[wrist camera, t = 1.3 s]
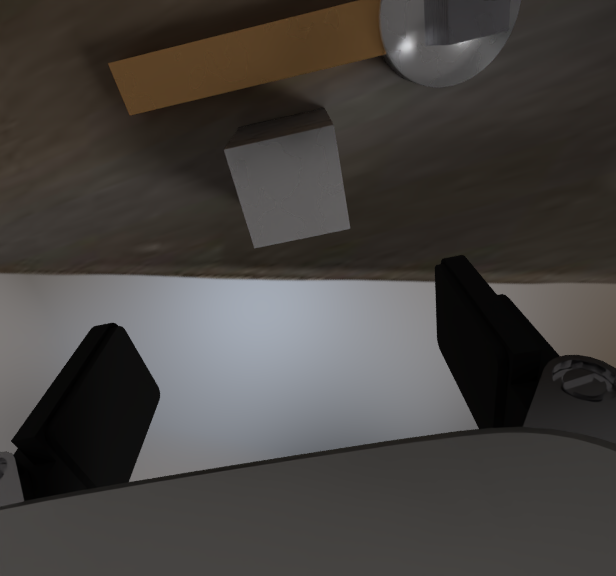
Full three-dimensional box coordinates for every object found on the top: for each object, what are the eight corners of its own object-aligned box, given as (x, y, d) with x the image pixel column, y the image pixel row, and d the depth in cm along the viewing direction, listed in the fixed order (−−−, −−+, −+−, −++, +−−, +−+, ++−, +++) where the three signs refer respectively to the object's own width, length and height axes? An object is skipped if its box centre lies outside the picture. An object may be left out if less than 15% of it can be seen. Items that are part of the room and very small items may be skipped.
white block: (324, 107, 27) (333, 124, 21) (338, 192, 30) (350, 228, 24) (238, 127, 27) (223, 149, 21) (261, 209, 31) (254, 248, 25)
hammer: (505, -90, 22) (578, -137, 16) (498, 69, 26) (553, 75, 20) (100, 16, 24) (42, 6, 18) (154, 148, 28) (119, 173, 22)
